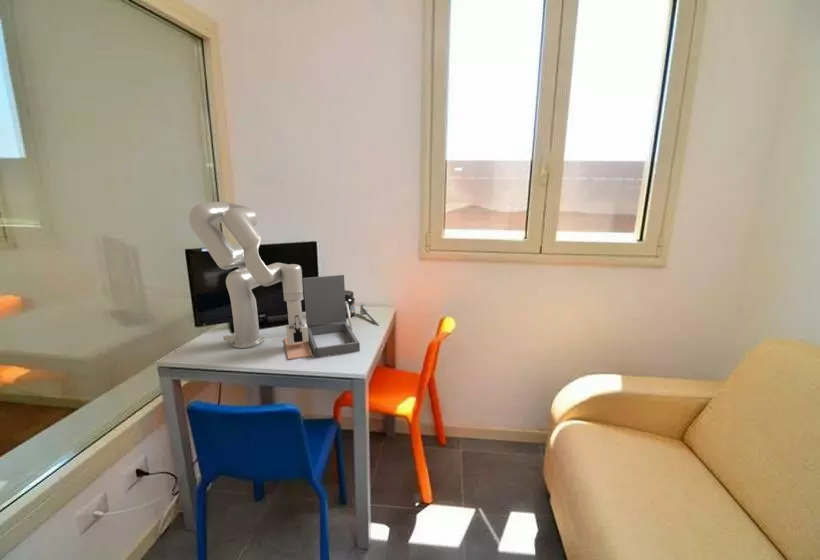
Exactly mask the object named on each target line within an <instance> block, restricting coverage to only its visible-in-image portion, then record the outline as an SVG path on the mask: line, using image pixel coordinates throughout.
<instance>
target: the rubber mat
mask: <svg viewBox="0 0 820 560" xmlns="http://www.w3.org/2000/svg"><path fill="white" fill-rule="evenodd" d="M283 339H284V344H285V349H286V353H287V354H286V355H287V360H288V361H290V360H298V358H299V359H305V358H310V356H312V357H313V351H312V348H311V345H310V342H309V341H307V342H300V343H293V344H288V341H287V337H284V338H283ZM304 357H305V358H304Z"/></svg>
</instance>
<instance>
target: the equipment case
mask: <svg viewBox="0 0 820 560" xmlns="http://www.w3.org/2000/svg"><path fill="white" fill-rule="evenodd" d="M302 282H303V293H304V305H305V306H304V308H305V321H306V322H305V323H306V324H307V327H308V338H309V341H308V342H309V345H310V348H311V351H312V354H313V355H314V358H315V359H317V358H323V356H324V357H329V356H328V355H330V356H336V355H335V354H337V355H343V354H342V353H344V354H349V353H355V352H360V351H361V350H360V349H361V348H360V347H361V346H360V341H359V339H358V338H357V337H356V336H355V333H354V332H353V324H352V319H351V318H352V317H350V312H349V306H348V302H345V290H346V287H345V275H344V274H336V275H323V276H312V277H302ZM346 308H347V313H348V318H346ZM347 319H348V323H349V325H348V323H347ZM339 331H341V332H346V333H345V334H346V335H347V337H348V340H349V341H350V342H348V343H340V344H333V345H326V346H320V347H318V346H317V344H316V340H315V338H314V336H317V335H324V334H332V332H334V333H339ZM316 357H317V358H316Z"/></svg>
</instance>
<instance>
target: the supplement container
mask: <svg viewBox="0 0 820 560" xmlns="http://www.w3.org/2000/svg"><path fill="white" fill-rule="evenodd" d="M354 296H355V294H354V291H352V290H349V289H347V290H346V289H345V302H348V306H349V312H350V317H351V318H353V317H354V316H355V315H356V304H355V302H356V298H355V297H354ZM346 319H348V313H347V308H346Z"/></svg>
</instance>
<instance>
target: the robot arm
mask: <svg viewBox="0 0 820 560" xmlns="http://www.w3.org/2000/svg"><path fill="white" fill-rule="evenodd" d="M188 216H189V217H188V222H189V226H190V228H191V230H192V231H193V233H194V234H195V236H196V237H198V239H199V240H200V241H201V242H202V244H203V245H204V248H206V250H207V252H208V253H209V255H210V256H211V258H212V259H213V260H214V262H215V263H216V265H217V266H218V268H220V269H221V270H231V269H234V268H236V269H234V270H232V271H230V272H229V273H228V275H227V276H226V277H225V278H226V279H225V285H226V288H227V291H228V295H229V298H230V299H229V300H230V305H231V312H232V314H231V315H232V320H233V321H232V322H233V330H234V332H233V333H231V335H223V337H222V338H223V341H226V342H231V346H232V347H234V348H236V349H237V348H238V349H247V348H253V347H257V346H259V345H262V344H263V343H264V341H265V338H264V335H260V326H259V325H260V324H259V316H258V315H259V314H258V306H257V299H256V297H255V295H254V293H253V289H255V288H257V287H259V286H262V287H270V286H272V285H275V284H278V283H280V282H282V293H283V301H284V302H286V308H287V319H288V326H289V325H290V326H293V327H294V333H293V334H294V342H301V341H303V339H302V331H301V325H302V324H303V308H302V301H303V300H305V296H304V283H303V274H302V273H303V269H302V266H301V265H299V264H297V263H296V264H295V263H290V264H288V263H282V262H274V263H271V264H269V265H266V264H265V262H264V260H262V259H261V256H260V254H259V250H260V249H259V248H260V245H261V244H262V243H263V236H262V235H261V234H260V233H259V232H258V230H257V228H255V226H256V225H257V224H258V215H257V212H255V210H253V209H252V208H250V207H248V206H245V205H244V206H243V205H240V204H237V203H232V202H227V201H214V202H213V201H210V202H208V201H207V202H201V203H198V204H195V205H194V206H193V207H192V208H191V209H190V211H189V214H188ZM222 223H224V225H225V227H226V228H227V230H228V231H229V232H230V234H231V235H232V237H234V239H235V240H236V242H235V243H231V242H230V241H229V240H228V239H227V237H226V235H225V234H224V233H223V232H222V231H221V230H220V229H218V228H217V227H216V226H215V225H214V224H222ZM295 327H296V328H295Z"/></svg>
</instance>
